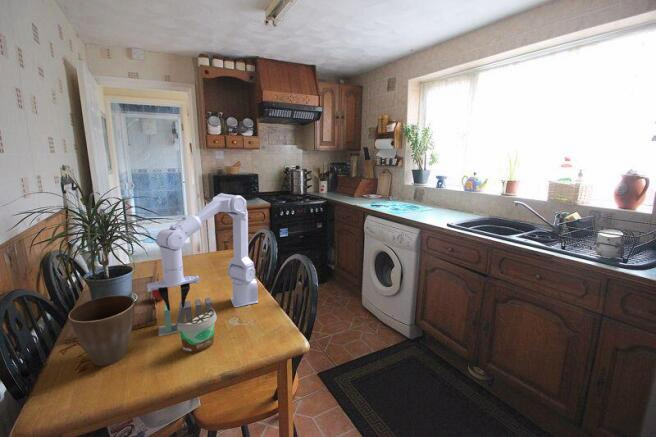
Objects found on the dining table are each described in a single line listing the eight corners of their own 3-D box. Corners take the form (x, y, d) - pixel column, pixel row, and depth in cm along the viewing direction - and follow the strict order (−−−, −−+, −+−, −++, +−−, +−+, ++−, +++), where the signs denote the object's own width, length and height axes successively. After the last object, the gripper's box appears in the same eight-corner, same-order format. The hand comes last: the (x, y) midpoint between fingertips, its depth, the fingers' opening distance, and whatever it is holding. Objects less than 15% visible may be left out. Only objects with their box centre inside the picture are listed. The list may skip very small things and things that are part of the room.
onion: (162, 304, 122) (160, 284, 120) (149, 302, 123) (147, 283, 121) (172, 297, 128) (170, 279, 126) (159, 295, 129) (158, 277, 127)
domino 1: (171, 325, 107) (169, 303, 105) (171, 332, 103) (169, 309, 102) (166, 326, 106) (164, 304, 105) (166, 333, 102) (164, 310, 101)
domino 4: (201, 319, 111) (200, 299, 110) (202, 325, 108) (201, 304, 106) (196, 320, 111) (195, 299, 109) (197, 326, 107) (196, 305, 105)
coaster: (178, 323, 109) (178, 322, 109) (179, 332, 104) (179, 331, 104) (158, 327, 106) (158, 326, 106) (158, 336, 101) (158, 336, 101)
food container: (191, 361, 89) (189, 330, 87) (178, 354, 93) (176, 323, 91) (226, 340, 100) (225, 311, 98) (213, 334, 103) (212, 306, 101)
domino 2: (181, 323, 109) (185, 302, 108) (182, 330, 105) (186, 307, 104) (176, 324, 108) (180, 302, 107) (177, 330, 104) (180, 307, 103)
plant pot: (133, 369, 86) (127, 316, 82) (67, 381, 81) (57, 325, 77) (144, 339, 99) (139, 292, 96) (87, 348, 94) (80, 299, 91)
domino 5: (210, 317, 113) (209, 297, 111) (212, 323, 109) (211, 302, 107) (206, 318, 112) (204, 298, 111) (207, 324, 108) (206, 303, 107)
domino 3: (191, 321, 110) (190, 300, 108) (192, 328, 106) (191, 306, 105) (186, 322, 109) (185, 301, 108) (187, 329, 105) (186, 307, 104)
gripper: (196, 259, 104) (198, 297, 107) (145, 266, 97) (149, 307, 99) (199, 266, 98) (201, 306, 101) (145, 274, 91) (149, 317, 93)
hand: (175, 307), depth 100 cm, fingers open, 3 cm apart
